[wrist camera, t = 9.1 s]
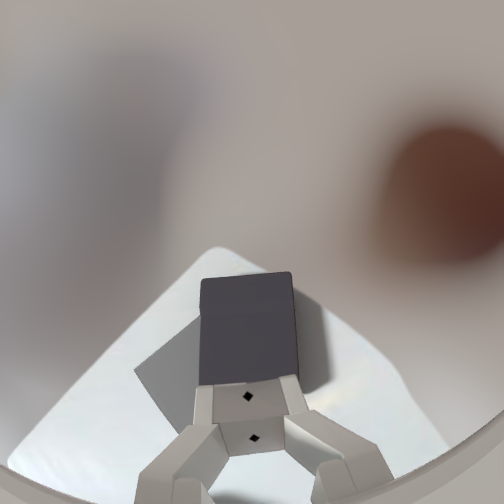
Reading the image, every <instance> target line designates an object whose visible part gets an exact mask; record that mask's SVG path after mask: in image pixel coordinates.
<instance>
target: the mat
mask: <svg viewBox="0 0 504 504" xmlns="http://www.w3.org/2000/svg"><path fill="white" fill-rule="evenodd" d="M200 320H201V315H200V316H198V317H197V318H196V319H195V320H194V321H192V322H191V323H190V324H189V325H188V326H186V327H185V328H184V329H183V330H182V331H180V332H179V333H178V334H177V335H176V336H174V337H173V338H172V339H171V340H169V341H168V342H167V343H166V344H165V345H163V346H162V347H161V348H160V349H159V350H157V351H156V352H155V353H154V354H152V355H151V356H150V357H149V358H148V359H146V360H145V361H144V362H143V363H141V364H140V365H139V366H138V367H136V368H135V369H134V371H135V373H136V375H137V376H138V378H139V379H140V381H141V383H142V384H143V386H144V387H145V389H146V390H147V392H148V393H149V395H150V396H151V398H152V399H153V400H154V402H155V403H156V405H157V406H158V408H159V409H160V410H161V412H162V413H163V414H164V416H165V417H166V418H167V420H168V421H169V422H170V424H171V425H172V426H173V428H174V429H175V430H176V431H177V433H178V434H180V433H181V432H182V431H183V430H184V429H185V428H186V427H187V426H188V425H193V419H194V407H195V396H196V389H197V387H198V386H199V346H200Z"/></svg>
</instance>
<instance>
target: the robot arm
mask: <svg viewBox="0 0 504 504" xmlns="http://www.w3.org/2000/svg"><path fill="white" fill-rule="evenodd" d="M279 450H285V451H286V452H287V453H288V454H289V455H290V456H292V457H293V458H294V459H295V460H296V461H297V462H298V463H300V464H301V465H302V466H303V467H304V468H306V469H307V470H308V471H309V472H310V473H312V474H313V475H314V476H315V482H314V486H313V490H312V495H311V502H312V504H504V410H503V411H502V412H501V413H499V414H498V415H497V416H496V417H495V418H493V419H492V420H491V421H490V422H488V423H487V424H486V425H485V426H483V427H482V428H481V429H479V430H478V431H477V432H475V433H474V434H473V435H471V436H470V437H468V438H467V439H466V440H464V441H462V442H461V443H460V444H458V445H456V446H455V447H453V448H452V449H450V450H449V451H447V452H445V453H444V454H442V455H440V456H439V457H437V458H435V459H434V460H432V461H430V462H428V463H426V464H425V465H423V466H421V467H419V468H417V469H415V470H413V471H411V472H409V473H407V474H405V475H403V476H401V477H398V478H396V479H394V477H393V475H392V473H391V471H390V469H389V467H388V465H387V464H386V462H385V460H384V458H383V456H382V454H381V452H380V450H379V448H378V447H377V445H376V444H374V443H372V442H370V441H368V440H366V439H365V438H363V437H361V436H359V435H357V434H355V433H353V432H352V431H350V430H348V429H346V428H344V427H343V426H341V425H339V424H337V423H336V422H334V421H332V420H330V419H329V418H327V417H325V416H324V415H322V414H320V413H319V412H317V411H315V410H311V411H309V409H308V406H307V403H306V401H305V398H304V395H303V392H302V390H301V387H300V384H299V382H298V379H297V376H296V375H295V374H292V375H287V376H282V377H279V378H278V377H277V378H271V379H265V380H258V381H251V382H243V383H232V384H218V385H207V386H198V387H197V389H196V396H195V407H194V419H193V425H188V426H187V427H186V428H185V429H184V430H183V431H182V432H181V433H180V434H179V435H178V436H177V437H176V438H175V439H174V440H173V441H172V442H171V443H170V444H169V445H168V446H167V447H166V448H165V449H164V450H163V451H162V452H161V453H160V454H159V455H158V456H157V457H156V458H155V459H154V460H153V461H152V462H151V463H150V464H149V465H148V466H147V467H146V468H145V469H144V470H143V471H142V472H140V473H139V479H138V484H137V490H136V495H135V501H134V504H215V502H214V501H213V499H212V498H211V497H210V495H209V493H208V490H209V489H210V487H211V486H212V484H213V483H214V481H215V480H216V478H217V477H218V475H219V474H220V472H221V471H222V469H223V468H224V466H225V464H226V463H227V461H228V460H229V457H231V456H240V455H248V454H255V453H264V452H272V451H279ZM0 504H96V503H93V502H89V501H86V500H82V499H79V498H76V497H73V496H70V495H67V494H65V493H62V492H59V491H57V490H54V489H51V488H49V487H47V486H44V485H42V484H40V483H37V482H35V481H33V480H31V479H29V478H27V477H24V476H22V475H20V474H18V473H17V472H15V471H13V470H11V469H9V468H7V467H5V466H4V465H1V464H0Z"/></svg>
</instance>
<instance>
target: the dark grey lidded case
mask: <svg viewBox="0 0 504 504" xmlns="http://www.w3.org/2000/svg"><path fill="white" fill-rule="evenodd" d="M199 308H200V315H201V320H200V346H199V386H207V385H218V384H232V383H243V382H251V381H258V380H265V379H271V378H277V377H278V378H279V377H282V376H287V375H292V374H295V375H296V376H297V379H298V382H299V367H298V350H297V336H296V322H295V309H294V297H293V285H292V275H291V273H290V272H277V273H266V274H254V275H243V276H230V277H218V278H205V279H202V281H201V288H200V305H199Z"/></svg>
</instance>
